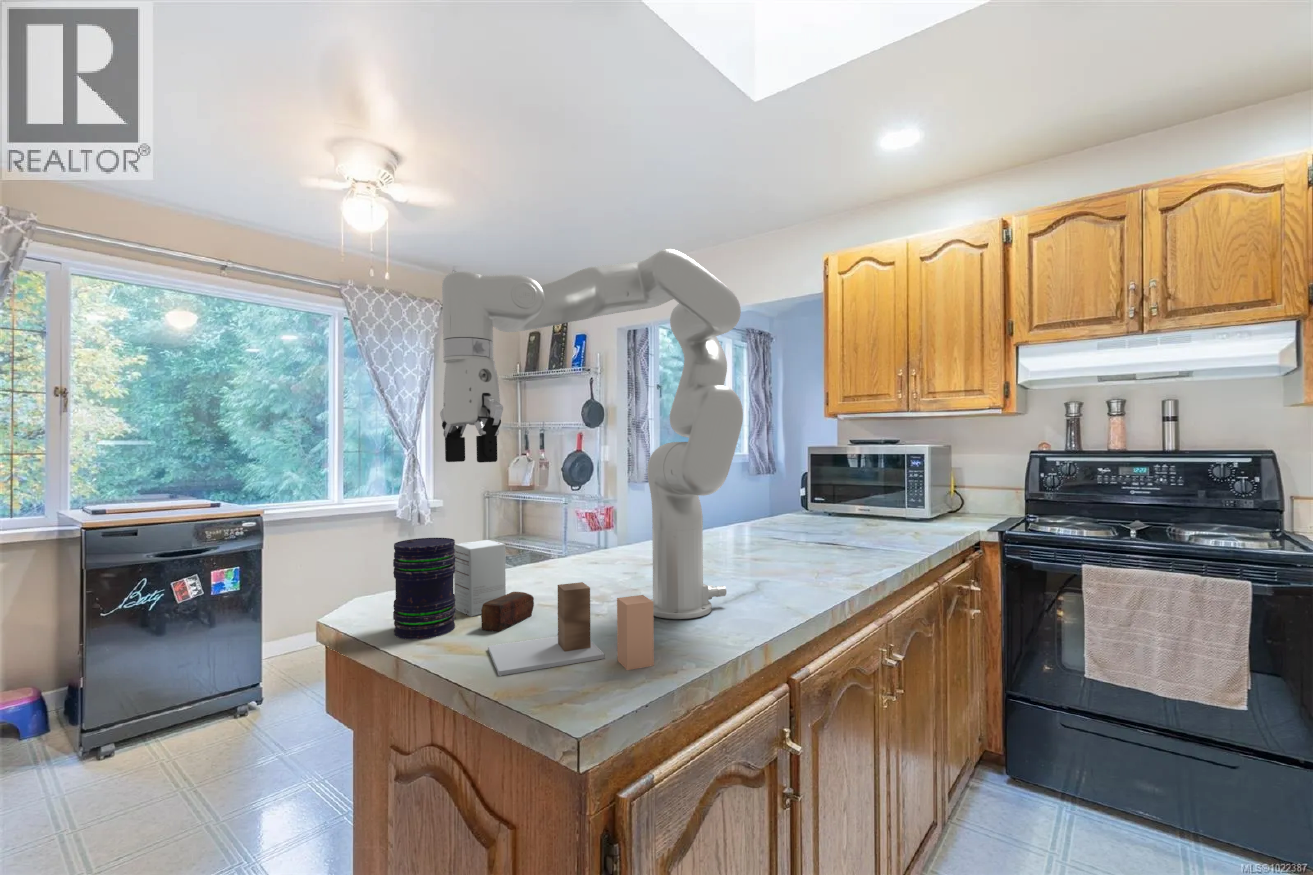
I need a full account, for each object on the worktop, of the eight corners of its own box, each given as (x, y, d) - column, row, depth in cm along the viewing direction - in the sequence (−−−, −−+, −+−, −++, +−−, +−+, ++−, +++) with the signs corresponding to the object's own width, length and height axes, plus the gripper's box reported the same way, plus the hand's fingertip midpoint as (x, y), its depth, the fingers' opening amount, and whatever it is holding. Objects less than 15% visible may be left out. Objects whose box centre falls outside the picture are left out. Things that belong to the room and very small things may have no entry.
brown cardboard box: (583, 639, 90) (582, 582, 90) (590, 647, 86) (590, 587, 86) (557, 643, 88) (557, 584, 88) (564, 651, 85) (564, 590, 85)
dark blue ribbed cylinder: (467, 623, 101) (466, 538, 101) (433, 641, 91) (433, 548, 92) (417, 619, 103) (417, 536, 103) (379, 637, 94) (379, 546, 94)
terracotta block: (643, 656, 84) (642, 594, 84) (653, 665, 81) (653, 601, 81) (617, 660, 83) (617, 598, 83) (627, 670, 79) (626, 604, 79)
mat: (582, 635, 93) (582, 632, 93) (604, 658, 83) (604, 654, 83) (488, 649, 87) (487, 645, 87) (498, 675, 77) (498, 671, 77)
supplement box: (489, 602, 115) (488, 538, 115) (506, 609, 109) (506, 543, 109) (453, 609, 110) (452, 543, 110) (469, 617, 104) (469, 548, 104)
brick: (500, 633, 96) (500, 605, 96) (480, 631, 97) (480, 603, 97) (534, 616, 106) (534, 590, 106) (516, 614, 107) (516, 588, 107)
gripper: (520, 349, 87) (522, 461, 87) (463, 361, 99) (465, 460, 99) (475, 343, 82) (477, 463, 81) (420, 357, 93) (422, 462, 93)
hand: (470, 461), depth 90 cm, fingers open, 9 cm apart
